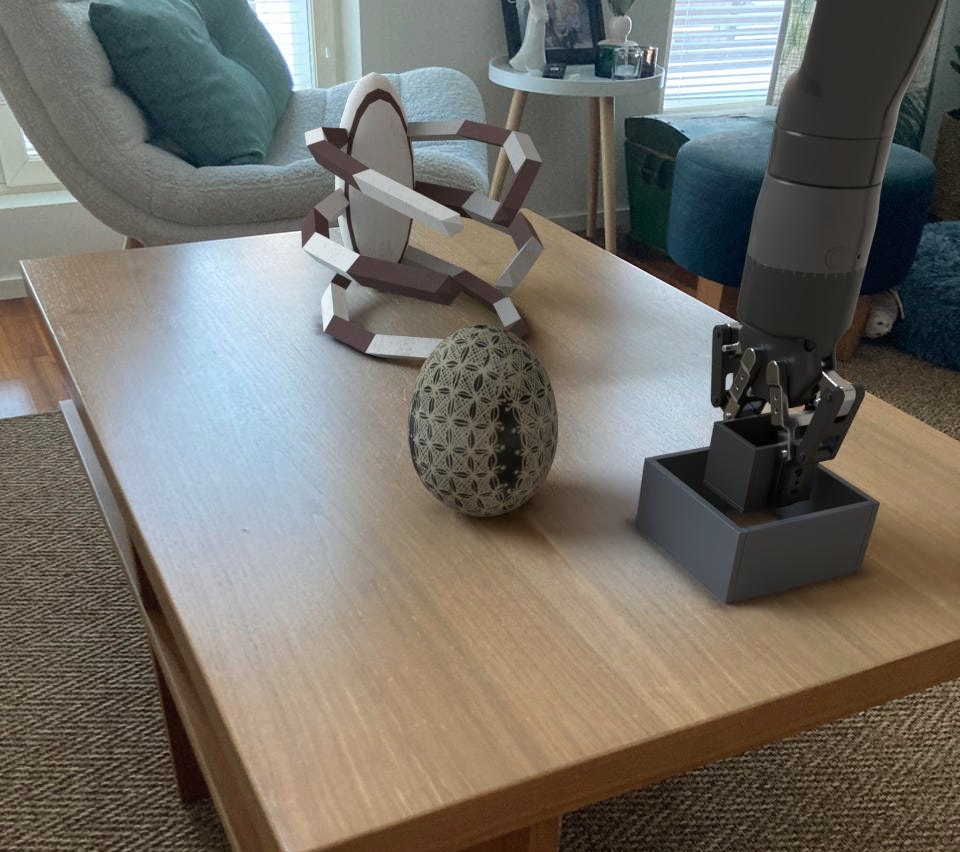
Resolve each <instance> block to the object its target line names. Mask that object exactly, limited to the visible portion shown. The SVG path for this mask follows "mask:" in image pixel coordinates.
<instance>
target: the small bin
mask: <svg viewBox="0 0 960 852" xmlns="http://www.w3.org/2000/svg"><path fill="white" fill-rule="evenodd" d="M798 442H800V426H798V427H796V428H795V430H794V443H798ZM822 442H823V440H822ZM822 442H821V443H822ZM709 446H710V448H709V453H708V459H707V464H706V470H705V476H704V481H703V484H704V485H705V486H707V487H708V488H709V489H711V490H712V491H713V492H715V493H716V494H717V495H718V496H720V497H721V498H722V499H724V500H725V501H726V502H727V503H729V504H730V505H731V506H733V507H734V508H733V509H736V511H738V512H739V513H741V514H742V515H746V514H749V513H755V512H759V511H764V510H770V509H769V508H773V507H772V506H770V505H769V504H768V503H767V496H768V492H769V487H770V483H771V478H772V474H773V469H774V465H775V460H776V459H777V458H779V457H778V440H777V429H776V428H774V427H773V426H772V424H771V411H768V412H762V413H761V414H756V415H751V416H745V417H739V418H733V419H727V420H723V419H721V420H717V421H714V422H713V426H712V432H711V437H710V443H709ZM819 463H820V462H818V463H813V464H809V465H808V469H807V473H806V477H805V482H804V486H803V488H802V489H803V490H802V494H801V497H800V498H799V500H798V501H796V502H795V503H797V502H802V501H807V500H810V495H811V492H812V488H813V484H814V480H815V476H816V472H817V468H818V464H819Z"/></svg>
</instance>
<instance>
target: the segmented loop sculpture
mask: <svg viewBox="0 0 960 852" xmlns="http://www.w3.org/2000/svg"><path fill="white" fill-rule="evenodd" d="M304 138H305V145H306V148H307V149H308V151H309V153H310V154H311V155H312V157H313V159H314V160H315V162H316V164H318V165H319V166H321V167H322V168H324V169H325V170H327V171H328V172H330V173H331V174H333V175H334V191H333V192H331V194H329V195H327V196H326V197H325V198H323V199H322V200H321V201H320V202H318V203H317V204H316V205H315V206H313V207H312V209H311V210H310V211H309V213H307V215H306V216H305V217H304V219H303V220H302V221H301V222H300V233H301V234H300V235H301V249H302V250H303V251H304V252H305V253H306V254H307V255H308V256H309V257H311V258H312V259H313V260H314V261H315V262H317V263H318V264H320V265H321V266H323V267H326V268H327V269H328V270H331V271H333V272H335V275H334V276H333V277H332V279H331V280H330V282H329V284H328V285H327V288H326V289H325V291H324V293H323V295H322V296H321V298H320V302H321V304H320V305H321V315H322V316H321V317H322V328H323V333H324V334H326V335H329V336H330V337H333V338H334V339H336V340H338V341H340V342H343V343H344V344H347V345H348V346H351V347H352V348H354V349H356V350H358V351H360V352H363V353H365V354H368V355H372V356H376V357H379V358H384V359H385V358H386V359H397V360H410V361H420V362H421V361H422V362H425V361H426V359H427V358H428V356H429V355H430V354H431V352H432V351H433V350H434V349H435V347H436V346H437V345H438V344H439V343H440V342H442V341H443V340H444V339H445V338H437V337H436V338H435V337H422V336H421V337H420V336H408V335H407V336H405V335H392V334H391V335H390V334H377V333H374V332H372V331H370V330H367V329H366V328H364V327H361V326H360V325H357V324H355V323H353V322H351V321H350V315H349V307H348V300H347V299H348V298H347V292H346V291H347V290H348V288H349V286H350V285H351V283H355V284H357V285H359V286H361V287H364V288H369V289H373V290H378V291H382V292H387V293H390V294H395V295H399V296H403V297H408V298H412V299H415V300H416V299H417V300H420V301H425V302H429V303H432V304H437V305H441V306H447V307H450V306H451V305H452V304H453V302H454V301H455V300H456V299H457V298H458V296H459V295H460V294H461V293H463V294H465V295H466V296H468V297H470V298H471V299H473V301H475V302H478V303H479V304H481V305H482V306H484V307H485V308H487V309H488V310H490V311H492V312H493V313H494V314H497V315H498V317H499V319H500V321H501V323H502V325H503V327H502V328H503V329H505V330H508V331H510V332H511V333H513V334H515V335H516V336H517V337H519V338H520V339H521V340H522V338H523V337H524V335H526V334H527V333H528V331H529V330H528V328H527V326H526V325H525V323H524V321H523V319H522V318H521V316H520V313H519V312H518V310H517V308H516V307H515V305H514V303H513V301H512V299H511V298H510V296H511V295H512V294H513V292H514V291H516V289H517V288H518V287H519V286H520V284H521V283H522V282H523V280H524V279H525V278H526V276H527V275H528V273H529V272H530V270H531V269H532V268H533V266H534V265H535V263H536V262H537V261H538V260H539V257H540V256H541V255H542V254H543V252H544V250H545V249H546V248H545V247H544V245H543V242H542V241H541V239H540V237H539V235H538V233H537V232H536V229H535V228H534V225H533V223H531V221H530V220H529V219H528V218H527V217H526V216H525V214H524V213H523V212H522V211H521V207H522V205H523V203H524V202H525V200H526V198H527V195H528V193H529V191H530V190H531V187H532V185H533V183H534V181H535V179H536V177H537V175H538V173H539V171H540V169H541V167H542V165H543V163H544V162H543V160H542V159H541V156H540V154H539V152H538V151H537V148H536V146H535V145H534V143H533V141H532V139H531V137H530V135H529V134H527V133H524V132H520V131H517V130H513V129H508V128H504V127H498V126H496V125H491V124H486V123H482V122H477V121H474V120H468V119H451V120H449V119H448V120H430V121H427V120H426V121H409V119H408V116H407V112H406V111H405V107H404V104H403V102H402V100H401V96H400V94H399V93H398V91H397V90H396V88H395V87H394V86H393V84H392V83H391V81H390V80H389V78H388V77H387V76H386V75H383V74H380V73H378V72H376V71H373V72H372V71H371V72H369V73H367V74H365V75H364V76H362V77H360V78H359V79H358V81H357V82H356V83H355V85H354V87H353V88H352V90H351V92H350V93H349V95H348V96H347V100H346V103H345V106H344V109H343V113H342V116H341V119H340V123H339V127H329V126H319V127H316V128H314V129H311V130H308V131H305V132H304ZM442 141H444V142H445V141H476V142H479V143H484V144H488V145H491V146H495V147H499V148H503V149H504V151H505V153H506V156H507V158H508V160H509V163H510V164H511V166H512V169H513V171H514V173H515V174H514V176H513V178H512V180H511V181H510V184H509V186H508V188H507V190H506V191H505V194H504V195H503V198H502V199H501V202H500V201H497V200H495V199H493V198H490V197H487V196H485V195H484V194H480V193H479V192H475V191H473V190H472V191H471V190H466V189H463V188H462V189H461V188H456V187H452V186H446V185H441V184H436V183H430V182H424V181H420V180H416V165H415V151H414V145H413V143H417V142H419V143H420V142H442ZM462 218H465V219H469V220H473V221H475V222H478V223H481V224H483V225H485V226H487V227H489V228H492V229H494V230H497V231H498V232H501V233H503V234H505V235H508V236H510V237H511V239H512V241H513V243H514V245H515V247H516V249H517V251H518V252H517V254H516V255H515V256H514V257H513V259H512V260H511V262H510V263H509V264H508V265H507V267H506V268H505V269H504V271H503V272H502V274H500V276H499V277H498V279H497V280H496V281H495V283H494V284H493V285H491V284H489V283H488V282H487V281H485V280H483V279H482V278H481V277H478V276H477V275H475V274H474V273H472V272H470V271H468V270H467V269H465V268H463V267H460V266H459V265H456V264H453V263H452V262H450V261H446V260H445V259H442V258H440V257H437V256H435V255H433V254H431V253H428V252H426V251H424V250H421V249H419V248H417V247H415V246H412V245H410V240H411V233H412V228H413V225H414V224H413V223H414V221H416V222H418V223H420V224H422V225H424V226H426V227H428V228H430V229H432V230H434V231H435V232H438V233H439V234H442V235H444V236H445V237H447V238H449V239H452V238H454V237H455V236H456V235H458V234H460V233H461V232H463V231H464V230H466V227H465V225H464V222H463V219H462ZM336 220H337V221H338V222H337V223H338V226H339V231H340V234H341V239H342V244H343V245H341V244H340V243H338V242H336V241H334V240H332V239H331V237H330V225H331V224H333V222H335V221H336Z"/></svg>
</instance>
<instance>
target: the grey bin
mask: <svg viewBox="0 0 960 852" xmlns="http://www.w3.org/2000/svg"><path fill="white" fill-rule="evenodd" d="M709 448H710V445H708V446H701V447H695V448H692V449H691V448H690V449H686V450H681V451H674V452H670V453H669V452H668V453H663V454H658V455H653V456H647V457H644V460H643V467H642V474H641V482H640V489H639V497H638V504H637V511H636V517H635V525H636V526H637V527H638V528H639V529H640V530H641V531H643V533H645V534H646V535H647V536H648V537H649V539H651V540H653V541H654V542H655V543H656V544H657V546H659V547H660V548H661V549H662V550H663V551H665V552H666V553H667V554H668V555H669V556H670V557H671V558H672V559H674V560H675V561H676V562H677V563H678V564H679V565H680V566H681V567H682V568H684V569H685V571H686V572H688V573H689V574H690V575H691V576H693V577H694V578H695V579H696V580H697V581H698V582H699V583H700V584H701V585H702V586H703V587H704V588H706V589H707V590H708V591H709V592H710V593H711V594H712V595H713V596H715V598H717V599H718V600H719V601H720V602H721V603H723V604H724V605H730V604H733V603H736V602H737V603H738V602H742V601H745V600H749V599H753V598H756V597H757V598H758V597H761V596H764V595H769V594H773V593H777V592H781V591H785V590H789V589H794V588H798V587H802V586H805V585H810V584H814V583H818V582H821V581H825V580H829V579H833V578H839V577H841V576H846V575H849V574H853V573H857V572H860V571H861V569H862V566H863V563H864V559H865V556H866V553H867V550H868V546H869V543H870V539H871V535H872V532H873V528H874V526H875V523H876V519H877V515H878V512H879V510H880V509H879V508H880V505H881V502H880V501H879V500H878V499H875V498H874V497H872V496H871V495H869V494H868V493H866V492H865V491H864V490H862V489H860V488H858V487H857V486H855V485H854V484H853V483H851V482H849V481H848V480H846V479H845V478H844V477H842V476H840V475H839V474H837V473H836V472H834V471H833V470H831V469H829V468H828V467H826V465H824V464H822V463H821V462H819V464H818V468H817V472H816V476H815V480H814V484H813V488H812V492H811V495H810V500H807V501H802V502H797V503H794V504H793V505H791V506H786V507H782V508H777V509H775V508H769V509H768V510H769V511H770V512H772V513H773V514H775V515H776V516H778V517H779V518H780V519H779V520H774V521H769V522H764V523H760V524H756V525H751V526H747V527H740V526H739V525H738V524H737V523H735V522H734V521H733V520H732V519H731V518H729V517H728V516H727V515H725V514H724V513H723V512H722V511H724V510H728V509H735V508H734V507H733V506H731V505H730V504H729V503H727V502H726V501H725V500H724V499H722V498H721V497H720V496H718V495H717V494H716V493H715V492H713V491H712V490H711V489H709V488H708V487H707V486H705V485H704V484H703V481H704V476H705V470H706V464H707V459H708V453H709Z"/></svg>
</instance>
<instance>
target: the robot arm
mask: <svg viewBox="0 0 960 852" xmlns="http://www.w3.org/2000/svg"><path fill="white" fill-rule="evenodd" d="M945 1H946V0H814V2H816V3H815V7H814V11H813V16H812V19H811V24H810V28H809V32H808V36H807V39H806V44H805V48H804V53H803V57H802V61H801V64H800V66H799V67H798V68H797V69H796V70H794V71H793V72H792V73H791V74H790V75H789V76H788V78H787V79H786V81H785V83H784V85H783V87H782V92H781V94H780V97H779V100H778V103H777V104H778V105H777V107H776V113H775V118H774V124H773V128H772V134H771V139H770V145H769V149H768V156H767V160H766V161H767V162H766V167H765V169H766V170H765V172H764V176H763V181H762V184H761V187H760V190H759V193H758V196H757V199H756V203H755V207H754V210H753V216H752V221H751V227H750V233H749V238H748V243H747V249H746V254H745V261H744V265H743V272H742V276H741V282H740V288H739V293H738V299H737V304H736V315H737V318H738V319H739V321H738V322H737V321H733V322H727V323H723V324H716V325H714V326H713V328H712V331H711V332H712V335H711V371H710V372H711V373H710V376H711V377H710V404H711V406H712V407H713V408H715V409H719V408H720V409H721V411H722V420H727V419H733V418H739V417H745V416H751V415H756V414H762V413H763V411H764V409H765V407H766V405H767V404H768V405H770V412H771V424H772V426H773V427H774V428H776V429H777V440H778V457H779V458H777V459H776V460H775V465H774V469H773V474H772V478H771V483H770V487H769V492H768V496H767V503H768V504H769V505H770V506H772V507H773V508H775V509H777V508H782V507H786V506H791V505H793V504H794V503H795V502H796V501H798V500H799V498H800V497H801V494H802V490H803V489H802V488H803V486H804V482H805V477H806V473H807V469H808V465H809V464H813V463H818V462H819V463H823V462H828V461H833V460H834V459H836V457H837V455H838V452H839V451H840V449H841V447H842V445H843V442H844V441H845V438H846V436H847V434H848V432H849V430H850V429H851V426H852V424H853V422H854V420H855V418H856V415H857V414H858V411H859V409H860V407H861V405H862V403H863V401H864V399H865V396H866V389H865V385H864V384H862V383H860V382H855V383H848V382H847V381H845V379H843V378H842V377H841V375H839V374H838V373H837V369H838V365H837V346H838V343H839V342H840V340H841V339H842V338H843V336H844V335H845V334H846V333H847V332H848V331H849V329H850V328H851V327H852V324H853V321H854V316H855V312H856V309H857V304H858V300H859V295H860V291H861V288H862V284H863V279H864V276H865V271H866V268H867V264H868V259H869V255H870V251H871V248H872V244H873V239H874V235H875V233H876V228H877V222H878V218H879V210H880V201H881V200H880V199H881V192H882V188H883V187H882V186H883V180H884V178H885V177H884V176H885V172H886V169H887V164H888V161H889V157H890V154H891V153H890V152H891V149H892V144H893V140H894V136H895V132H896V128H897V123H898V118H899V112H900V108H901V104H902V101H903V98H904V96H905V94H906V91H907V89H908V87H909V86H910V83H911V82H912V80H913V77H914V75H915V73H916V71H917V70H918V67H919V65H920V62H921V60H922V57H923V55H924V53H925V51H926V50H925V49H926V48H927V46H928V43H929V40H930V38H931V36H932V33H933V31H934V29H935V26H936V23H937V21H938V19H939V17H940V14H941V11H942V9H943V6H944V4H945ZM729 374H732V383H731V385H730V386H729V388H728V389H727V388H726V387H727V376H728V375H729ZM803 406H804V407H803ZM801 407H803V410H802V411H801V412H797V413H792V414H791V413H790V412H789V409H794V408H801ZM798 426H800V442H798V443H794V430H795V428H796V427H798ZM822 440H823V442H822ZM821 442H822V443H821Z"/></svg>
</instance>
